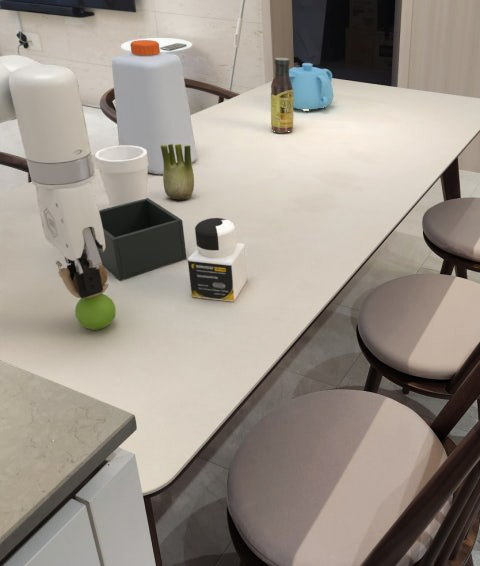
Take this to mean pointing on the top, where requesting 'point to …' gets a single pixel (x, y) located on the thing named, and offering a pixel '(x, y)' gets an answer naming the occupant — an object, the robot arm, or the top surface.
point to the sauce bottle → (281, 97)
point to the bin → (140, 238)
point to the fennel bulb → (177, 172)
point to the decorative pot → (311, 87)
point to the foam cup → (123, 173)
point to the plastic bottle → (152, 102)
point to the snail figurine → (90, 302)
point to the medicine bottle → (217, 261)
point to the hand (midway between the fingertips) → (87, 290)
